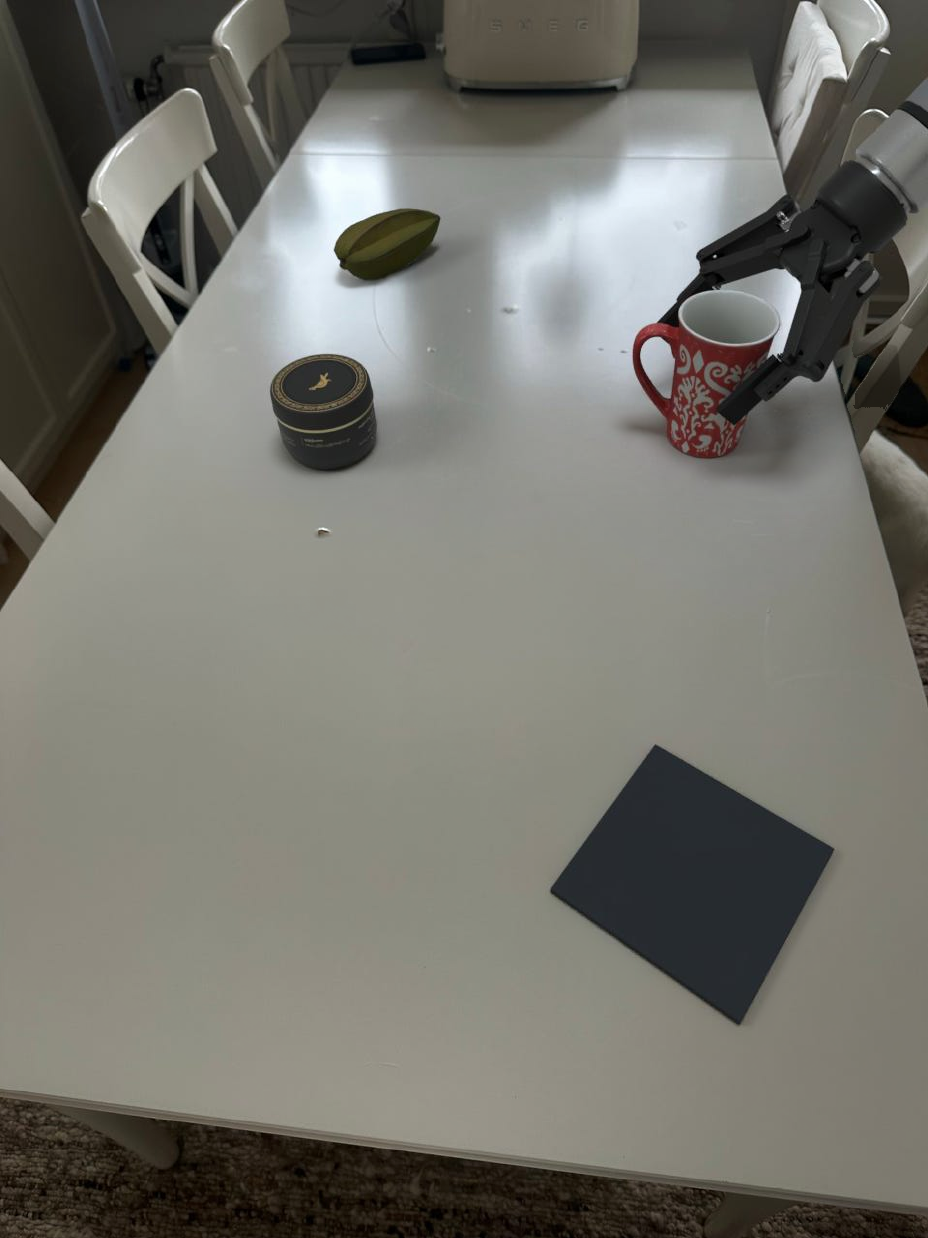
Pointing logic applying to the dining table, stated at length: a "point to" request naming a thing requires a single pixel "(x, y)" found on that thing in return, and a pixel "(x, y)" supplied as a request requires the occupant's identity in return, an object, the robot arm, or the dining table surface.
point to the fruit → (386, 242)
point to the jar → (325, 410)
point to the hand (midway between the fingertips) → (690, 375)
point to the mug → (709, 365)
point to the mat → (695, 879)
